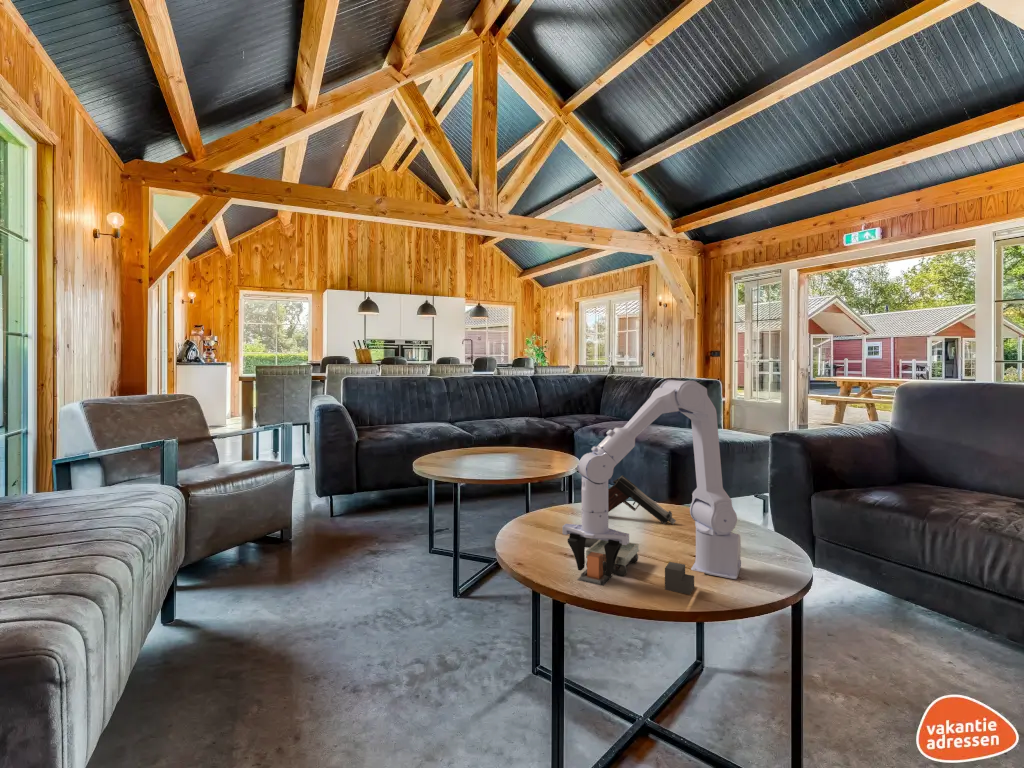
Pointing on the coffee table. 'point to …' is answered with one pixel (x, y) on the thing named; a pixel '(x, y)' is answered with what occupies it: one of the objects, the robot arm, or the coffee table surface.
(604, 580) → the socket
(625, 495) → the handgun
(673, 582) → the block
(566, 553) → the coffee table surface
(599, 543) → the trolley
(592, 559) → the orange rectangular block
